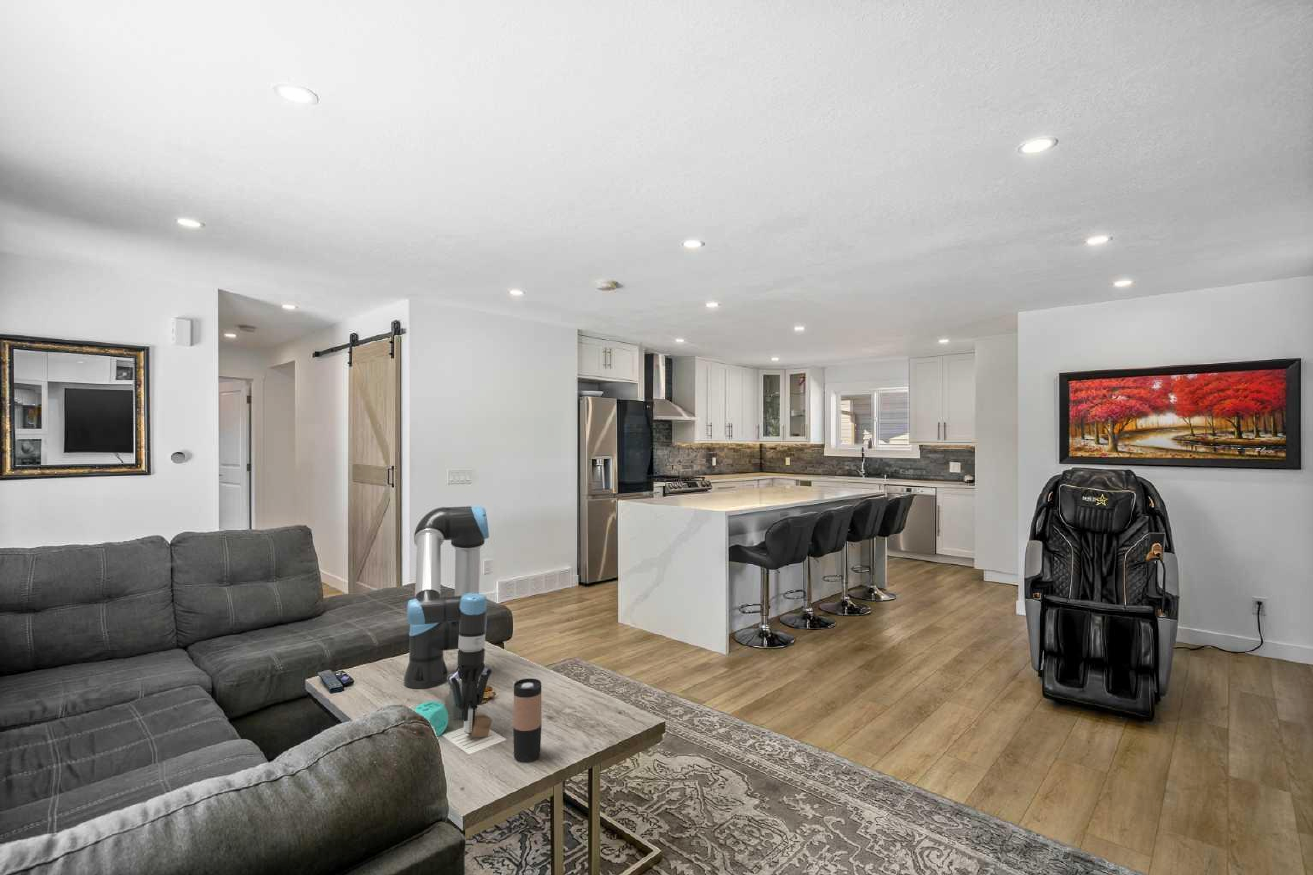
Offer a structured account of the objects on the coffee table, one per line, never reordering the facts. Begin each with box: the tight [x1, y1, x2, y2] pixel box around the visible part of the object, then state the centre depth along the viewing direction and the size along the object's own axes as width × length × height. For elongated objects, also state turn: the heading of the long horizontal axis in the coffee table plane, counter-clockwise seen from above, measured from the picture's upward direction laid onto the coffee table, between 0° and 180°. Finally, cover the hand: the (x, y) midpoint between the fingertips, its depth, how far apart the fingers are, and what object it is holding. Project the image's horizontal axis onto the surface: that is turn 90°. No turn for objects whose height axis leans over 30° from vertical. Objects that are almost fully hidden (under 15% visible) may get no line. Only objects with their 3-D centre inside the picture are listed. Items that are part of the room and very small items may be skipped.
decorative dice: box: [412, 701, 449, 737], centre depth 183 cm, size 8×8×8 cm
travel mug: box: [512, 678, 542, 763], centre depth 170 cm, size 8×8×20 cm
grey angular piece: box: [444, 673, 479, 721], centre depth 198 cm, size 16×9×11 cm, turn 25°
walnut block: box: [464, 713, 493, 737], centre depth 181 cm, size 5×5×5 cm
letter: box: [441, 726, 507, 755], centre depth 180 cm, size 16×12×1 cm
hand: (467, 730), depth 179 cm, fingers closed
